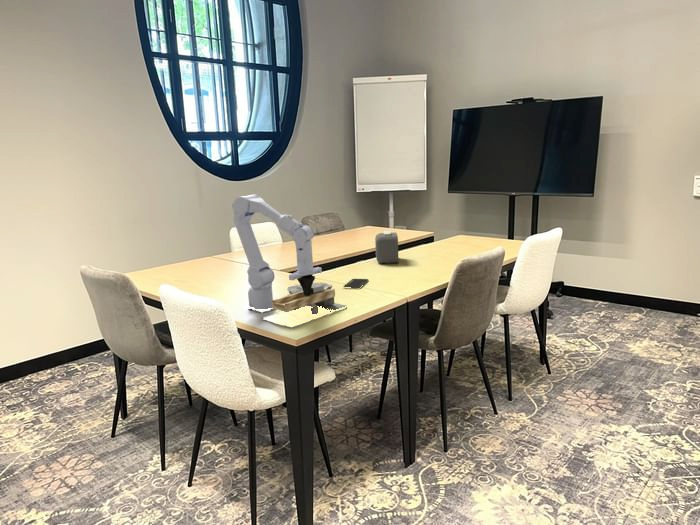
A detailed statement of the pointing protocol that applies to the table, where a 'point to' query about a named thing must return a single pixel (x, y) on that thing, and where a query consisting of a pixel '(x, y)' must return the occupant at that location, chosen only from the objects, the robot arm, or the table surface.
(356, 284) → the phone
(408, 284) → the table surface
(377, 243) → the alarm clock
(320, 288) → the steel block
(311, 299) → the balance beam
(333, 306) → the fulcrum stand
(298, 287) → the brain slice
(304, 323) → the table surface
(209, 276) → the table surface
